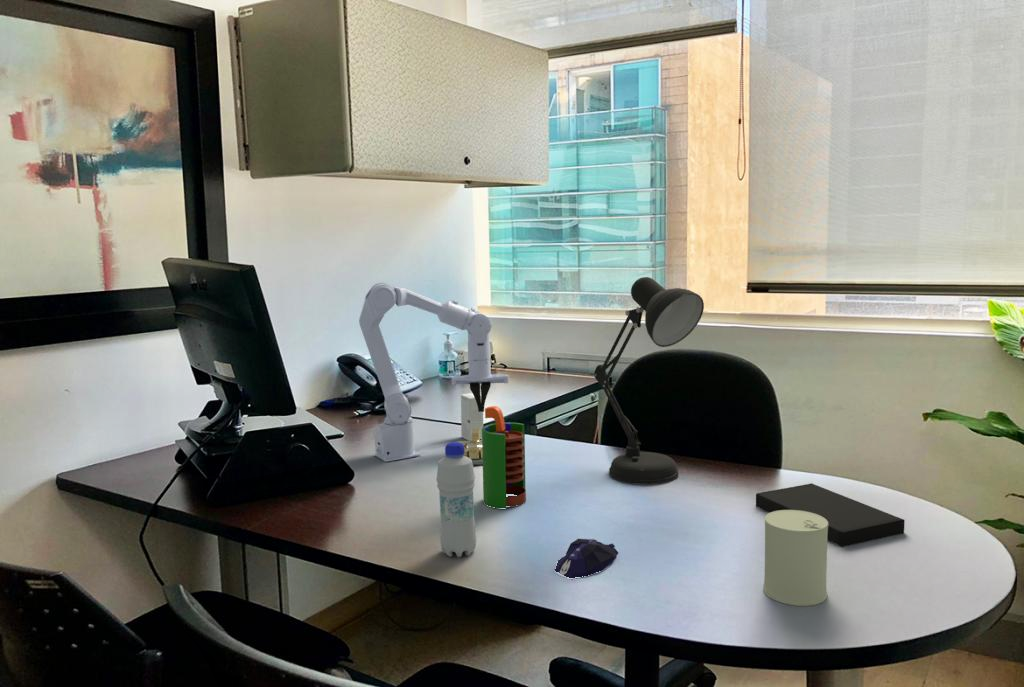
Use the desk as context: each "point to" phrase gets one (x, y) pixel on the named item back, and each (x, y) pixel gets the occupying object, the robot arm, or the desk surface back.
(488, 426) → the coil heat exchanger
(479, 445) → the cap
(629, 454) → the desk lamp
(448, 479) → the bottle
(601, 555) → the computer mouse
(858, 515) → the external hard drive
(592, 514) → the desk surface
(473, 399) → the skincare box
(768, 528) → the can
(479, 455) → the brass valve fitting
